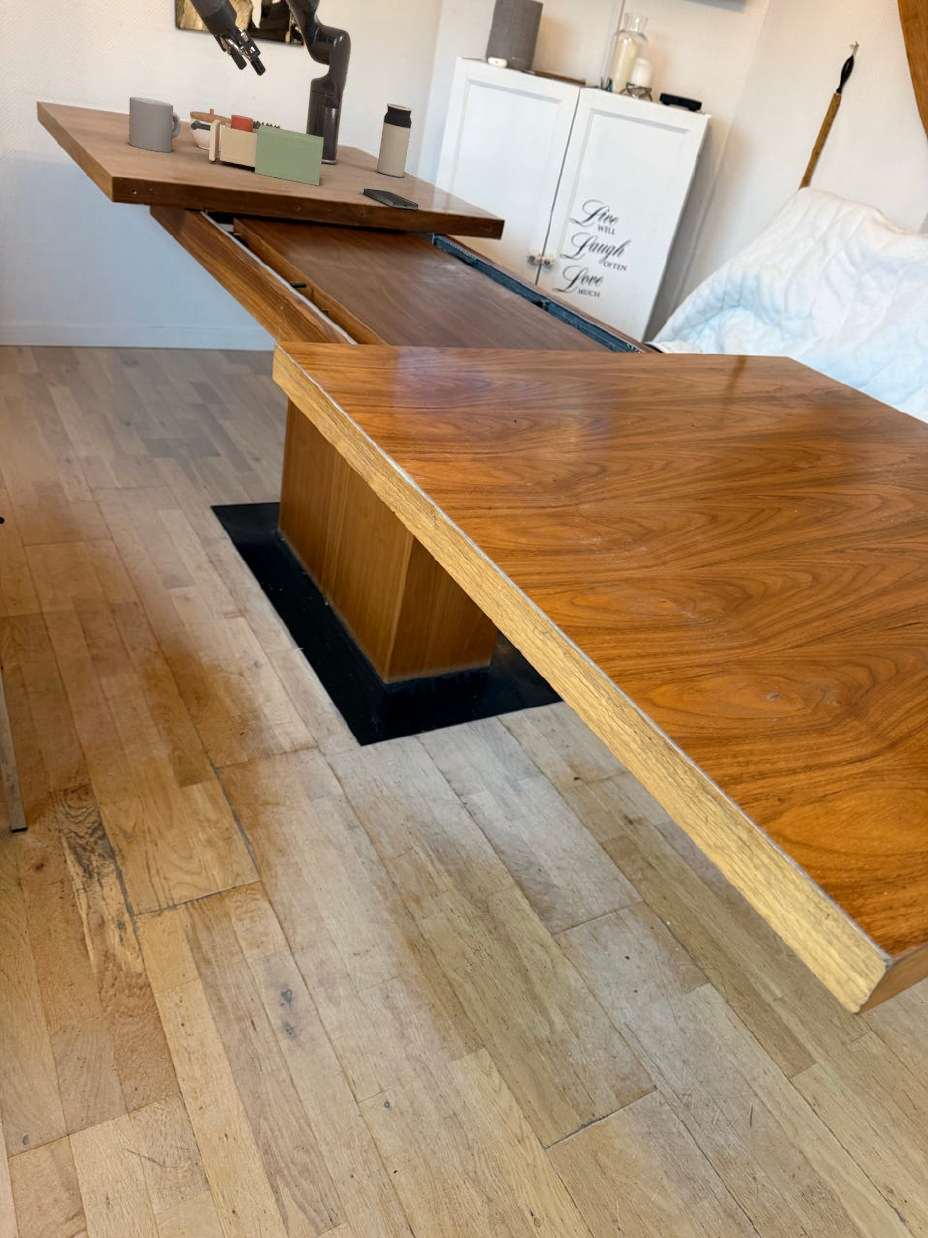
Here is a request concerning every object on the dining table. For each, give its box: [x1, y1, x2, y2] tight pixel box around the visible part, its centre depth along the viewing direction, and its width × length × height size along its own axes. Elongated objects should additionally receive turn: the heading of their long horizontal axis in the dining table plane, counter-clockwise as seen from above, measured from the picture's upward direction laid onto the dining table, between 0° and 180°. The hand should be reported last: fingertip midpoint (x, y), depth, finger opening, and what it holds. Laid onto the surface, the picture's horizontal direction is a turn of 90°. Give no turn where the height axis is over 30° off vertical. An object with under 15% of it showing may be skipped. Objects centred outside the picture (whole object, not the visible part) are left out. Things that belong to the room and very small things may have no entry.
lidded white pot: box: [189, 108, 231, 152], centre depth 241 cm, size 11×11×9 cm
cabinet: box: [254, 124, 324, 187], centre depth 228 cm, size 16×13×10 cm
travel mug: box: [376, 103, 413, 178], centre depth 267 cm, size 8×8×18 cm
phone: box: [362, 188, 419, 211], centre depth 227 cm, size 8×1×15 cm
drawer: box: [190, 120, 258, 168], centre depth 225 cm, size 19×11×8 cm, turn 97°
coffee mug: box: [128, 96, 181, 153], centre depth 224 cm, size 13×10×10 cm
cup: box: [253, 120, 281, 129], centre depth 250 cm, size 8×7×8 cm
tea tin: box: [230, 114, 254, 133], centre depth 225 cm, size 5×5×9 cm
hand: (253, 70), depth 218 cm, fingers open, 8 cm apart
